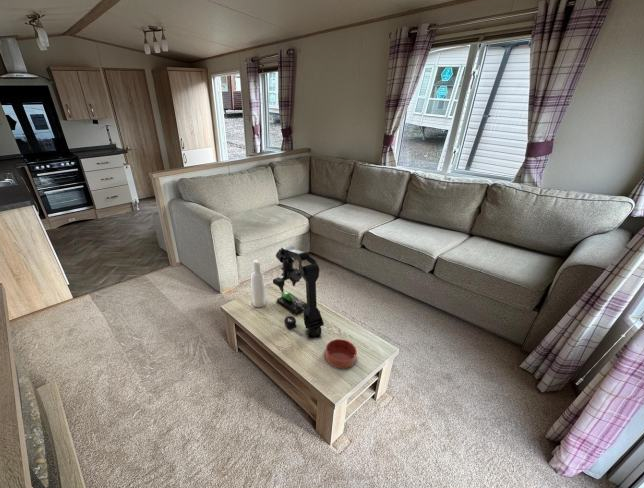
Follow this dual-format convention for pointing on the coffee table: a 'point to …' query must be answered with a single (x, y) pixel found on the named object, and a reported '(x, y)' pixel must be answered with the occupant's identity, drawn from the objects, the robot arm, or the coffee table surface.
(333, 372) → the coffee table surface
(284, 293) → the cucumber
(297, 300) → the stove knob
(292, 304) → the stove
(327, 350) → the red bowl
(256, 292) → the bottle
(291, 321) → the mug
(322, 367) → the coffee table surface
